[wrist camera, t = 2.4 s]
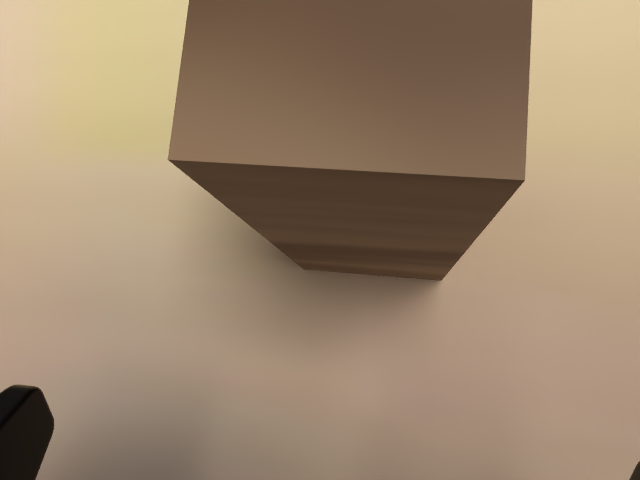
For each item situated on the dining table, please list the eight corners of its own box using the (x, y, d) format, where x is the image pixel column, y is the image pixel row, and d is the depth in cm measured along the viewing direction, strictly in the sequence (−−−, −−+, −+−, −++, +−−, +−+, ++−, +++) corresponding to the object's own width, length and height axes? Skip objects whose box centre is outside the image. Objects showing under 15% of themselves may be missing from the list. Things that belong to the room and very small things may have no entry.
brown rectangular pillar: (441, 280, 22) (525, 180, 8) (304, 269, 23) (167, 159, 9) (450, 146, 23) (538, -152, 9) (316, 139, 23) (209, -148, 10)
